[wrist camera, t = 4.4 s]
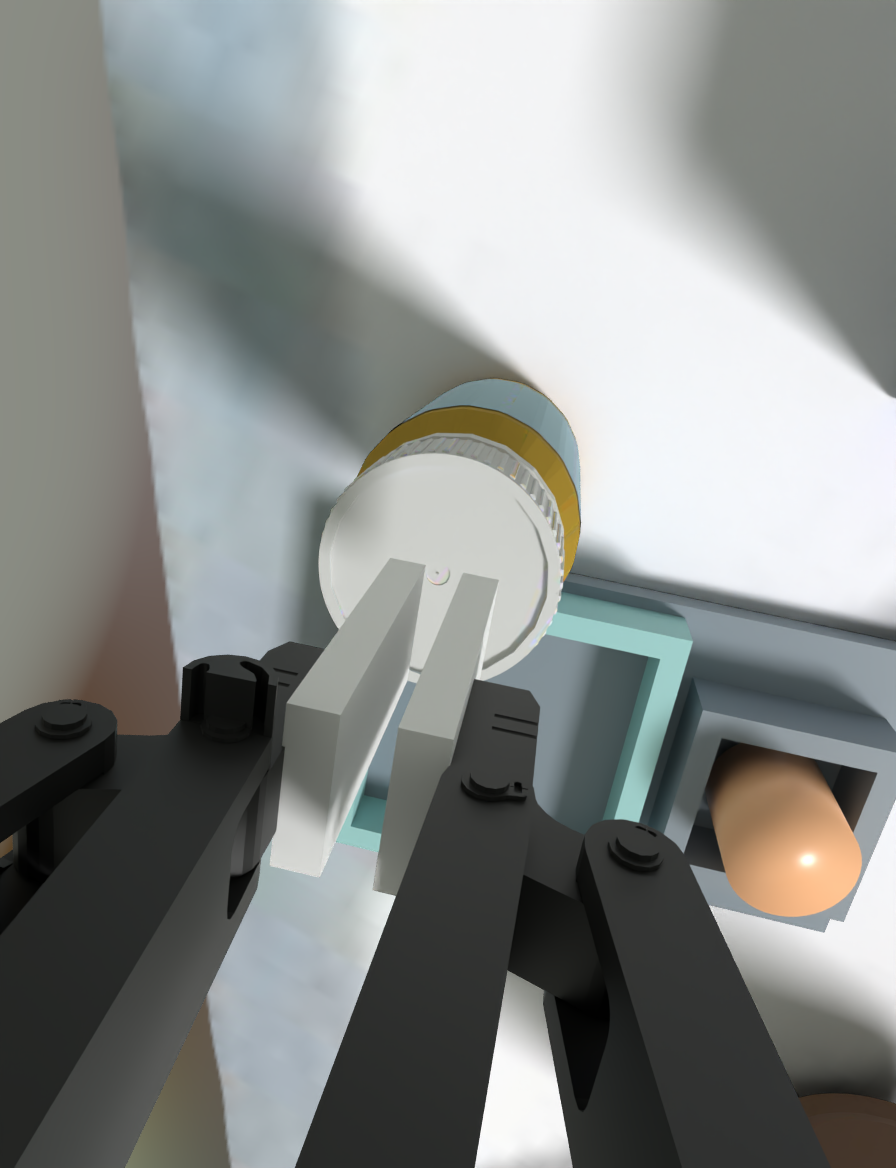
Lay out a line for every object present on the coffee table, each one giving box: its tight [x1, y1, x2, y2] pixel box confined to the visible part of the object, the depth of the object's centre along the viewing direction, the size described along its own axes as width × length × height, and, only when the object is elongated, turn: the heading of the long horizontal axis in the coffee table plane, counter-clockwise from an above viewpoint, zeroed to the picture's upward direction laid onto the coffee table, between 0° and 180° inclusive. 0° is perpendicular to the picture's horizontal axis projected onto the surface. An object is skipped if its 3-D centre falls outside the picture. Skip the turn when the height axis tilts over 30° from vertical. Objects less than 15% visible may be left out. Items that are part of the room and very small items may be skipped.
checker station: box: [336, 573, 896, 932], centre depth 36 cm, size 14×24×4 cm, turn 80°
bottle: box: [319, 378, 581, 683], centre depth 28 cm, size 7×7×15 cm
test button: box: [705, 743, 862, 917], centre depth 33 cm, size 5×5×5 cm
